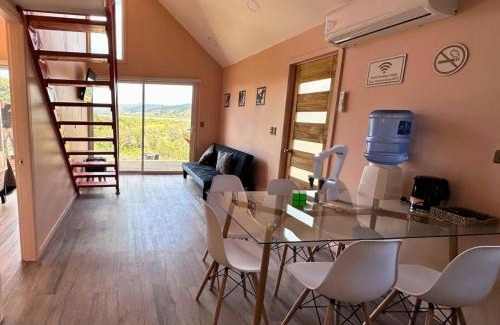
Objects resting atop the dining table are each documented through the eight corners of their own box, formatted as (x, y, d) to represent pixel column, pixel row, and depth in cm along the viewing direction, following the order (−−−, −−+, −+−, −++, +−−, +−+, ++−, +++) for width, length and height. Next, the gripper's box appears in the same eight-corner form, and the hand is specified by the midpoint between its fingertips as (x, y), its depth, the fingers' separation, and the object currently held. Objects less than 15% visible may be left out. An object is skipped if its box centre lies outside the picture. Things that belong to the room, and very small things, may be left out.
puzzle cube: (304, 203, 223) (305, 190, 221) (306, 207, 213) (306, 193, 212) (291, 203, 224) (291, 190, 222) (291, 206, 214) (292, 193, 213)
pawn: (315, 201, 227) (315, 191, 226) (320, 202, 224) (320, 192, 222) (311, 202, 224) (312, 191, 223) (316, 203, 221) (317, 193, 220)
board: (317, 201, 229) (317, 200, 229) (346, 208, 211) (347, 207, 211) (309, 203, 222) (309, 202, 222) (339, 211, 204) (339, 210, 204)
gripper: (306, 169, 222) (304, 187, 224) (322, 172, 212) (321, 190, 213) (311, 169, 227) (310, 186, 229) (328, 171, 217) (326, 190, 218)
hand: (315, 188), depth 221 cm, fingers open, 7 cm apart
